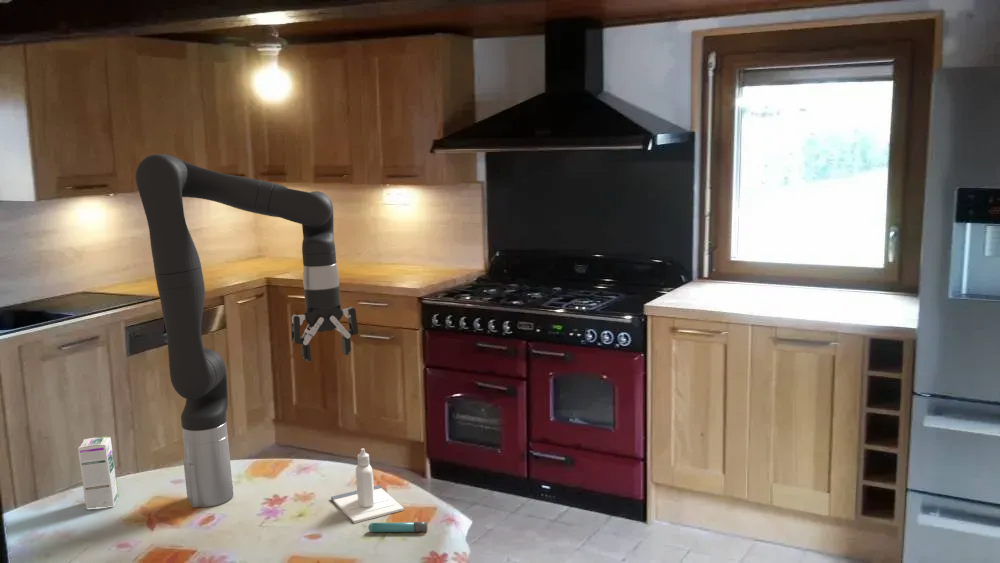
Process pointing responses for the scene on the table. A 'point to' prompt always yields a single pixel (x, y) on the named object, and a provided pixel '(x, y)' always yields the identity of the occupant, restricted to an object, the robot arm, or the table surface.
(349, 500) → the notepad
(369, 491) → the white tapered bottle shape
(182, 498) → the table surface
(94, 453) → the syrup box
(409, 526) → the marker
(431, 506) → the table surface
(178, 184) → the robot arm
